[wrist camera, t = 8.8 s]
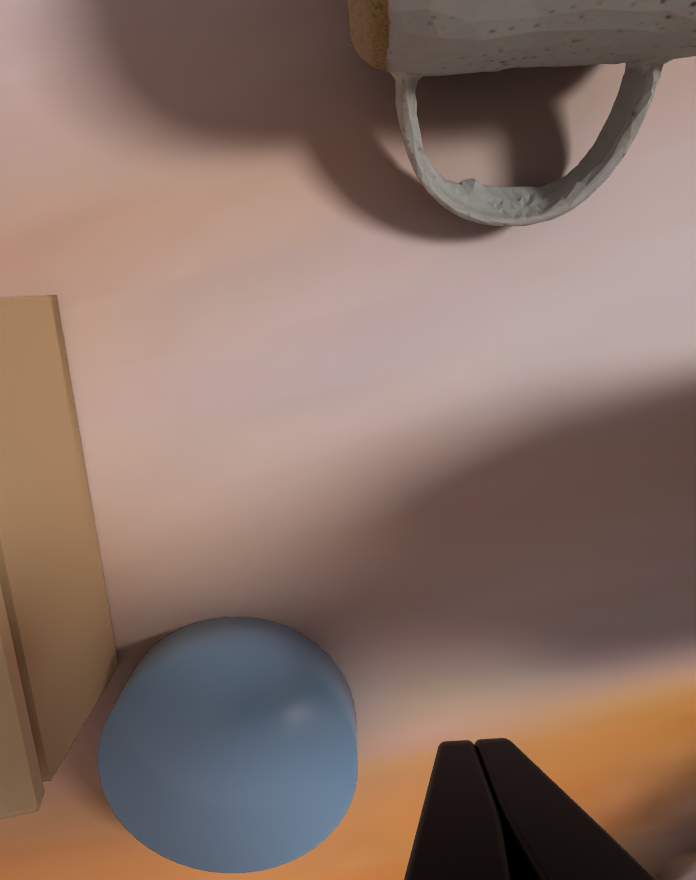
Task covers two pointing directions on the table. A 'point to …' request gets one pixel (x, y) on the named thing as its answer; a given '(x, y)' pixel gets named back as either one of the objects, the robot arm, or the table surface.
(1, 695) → the lid flap
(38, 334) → the carton
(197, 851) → the blue rounded dome
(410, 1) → the ceramic mug
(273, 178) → the table surface
